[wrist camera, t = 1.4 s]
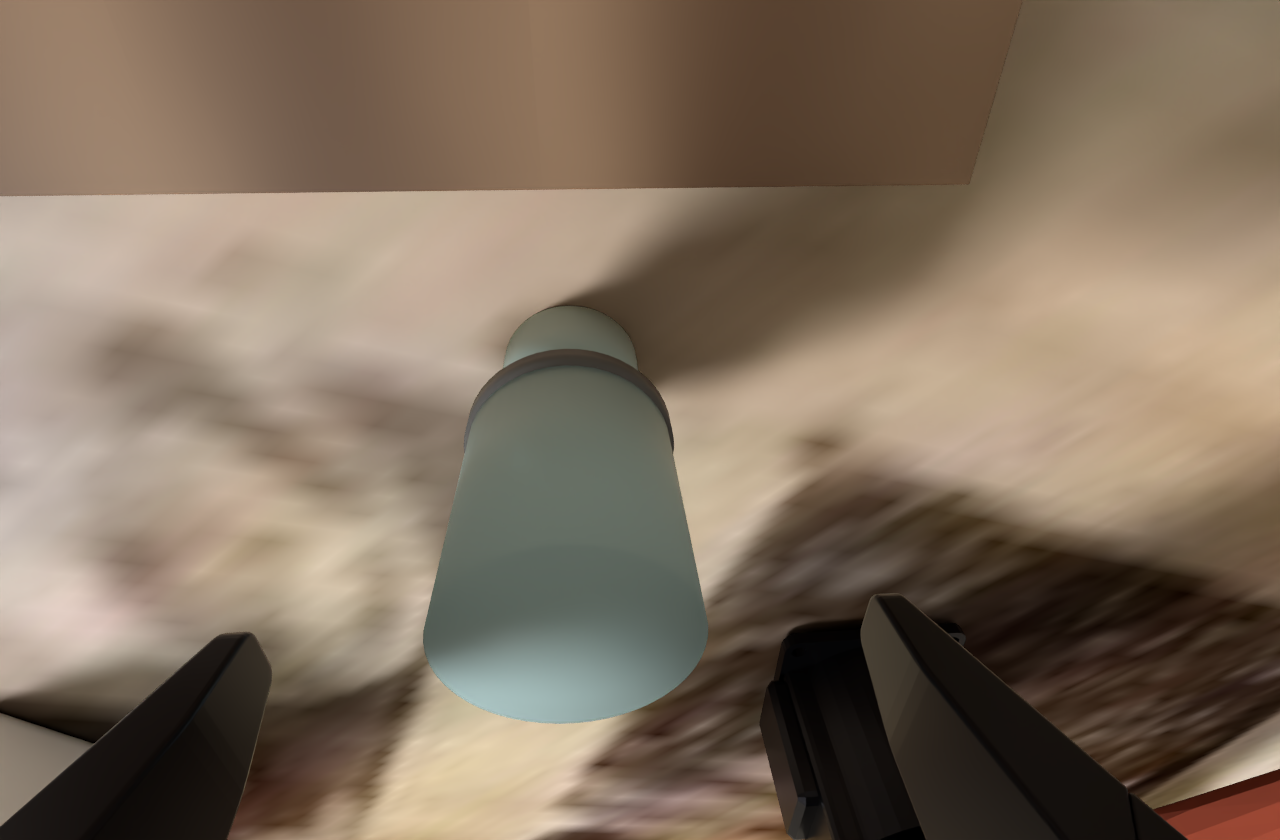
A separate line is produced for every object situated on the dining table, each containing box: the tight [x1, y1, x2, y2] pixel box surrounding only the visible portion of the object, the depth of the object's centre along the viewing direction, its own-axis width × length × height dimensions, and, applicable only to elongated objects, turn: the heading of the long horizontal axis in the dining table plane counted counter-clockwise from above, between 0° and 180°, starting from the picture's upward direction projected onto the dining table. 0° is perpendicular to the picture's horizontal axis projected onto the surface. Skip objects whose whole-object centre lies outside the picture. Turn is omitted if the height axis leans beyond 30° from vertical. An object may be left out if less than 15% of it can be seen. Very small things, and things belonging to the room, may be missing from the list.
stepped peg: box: [423, 306, 708, 724], centre depth 12 cm, size 4×4×8 cm
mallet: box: [1153, 769, 1280, 840], centre depth 27 cm, size 11×4×30 cm
